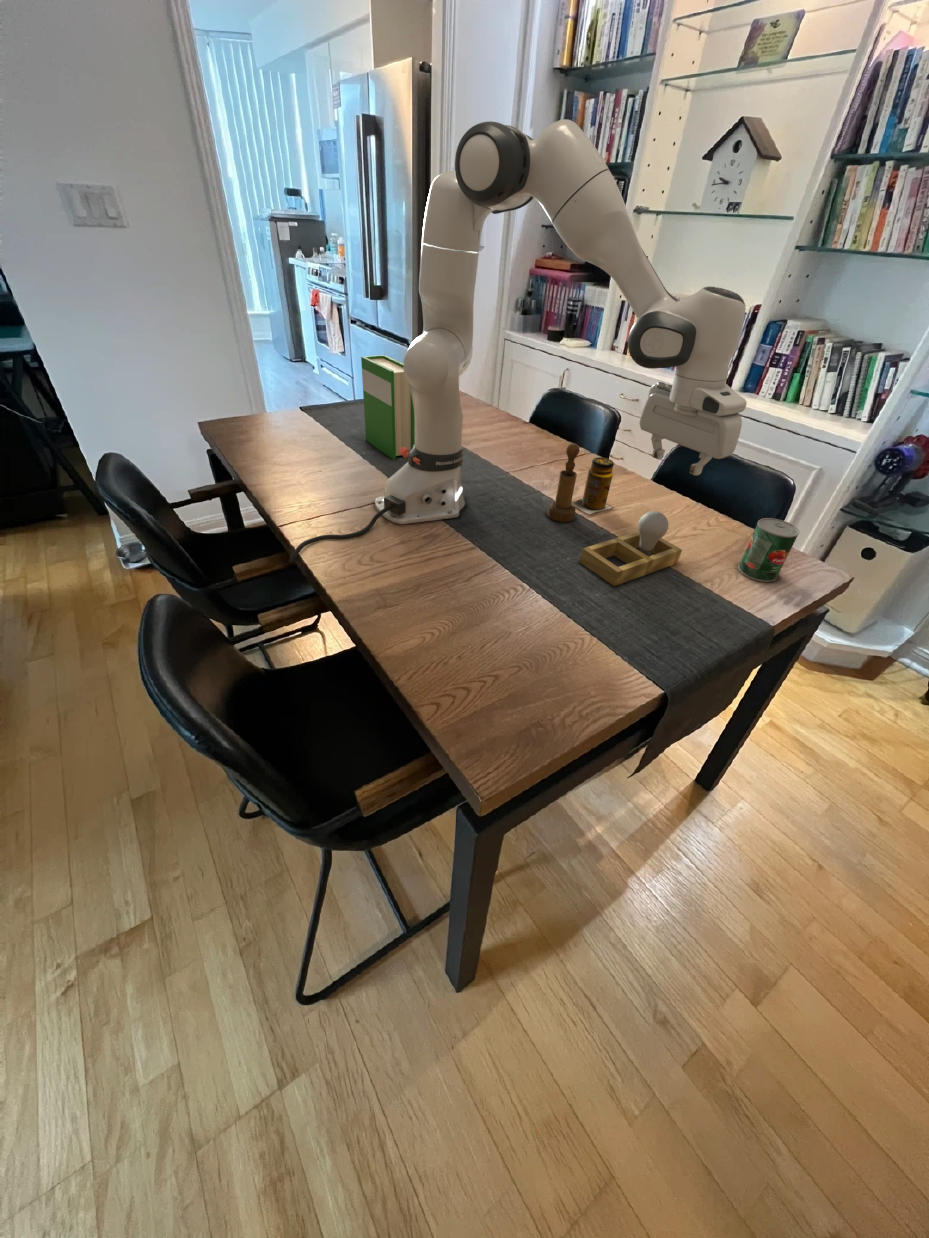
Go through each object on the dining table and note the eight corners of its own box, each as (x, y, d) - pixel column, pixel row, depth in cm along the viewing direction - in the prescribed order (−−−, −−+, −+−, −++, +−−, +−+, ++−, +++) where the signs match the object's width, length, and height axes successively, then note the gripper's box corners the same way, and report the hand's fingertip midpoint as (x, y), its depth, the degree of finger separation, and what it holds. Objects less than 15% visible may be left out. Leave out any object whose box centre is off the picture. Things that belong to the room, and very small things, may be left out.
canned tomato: (774, 586, 110) (797, 540, 104) (735, 574, 113) (755, 528, 107) (778, 570, 116) (801, 525, 109) (741, 558, 119) (760, 514, 112)
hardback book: (415, 455, 157) (414, 368, 142) (393, 459, 153) (390, 371, 139) (387, 437, 168) (384, 354, 153) (366, 440, 165) (361, 356, 150)
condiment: (612, 508, 136) (623, 463, 129) (588, 515, 132) (598, 469, 125) (592, 497, 141) (601, 453, 133) (568, 503, 137) (577, 458, 129)
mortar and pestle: (576, 513, 132) (590, 442, 121) (571, 524, 127) (586, 451, 116) (550, 508, 134) (562, 437, 123) (544, 519, 129) (556, 446, 118)
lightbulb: (627, 561, 115) (640, 515, 108) (631, 548, 120) (643, 503, 113) (655, 568, 114) (670, 522, 107) (658, 554, 118) (673, 510, 111)
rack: (614, 586, 107) (618, 572, 105) (579, 562, 114) (582, 548, 111) (677, 563, 116) (682, 549, 113) (641, 542, 122) (645, 528, 120)
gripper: (641, 381, 102) (626, 451, 110) (732, 409, 88) (707, 487, 97) (663, 378, 105) (647, 447, 113) (755, 404, 91) (728, 480, 99)
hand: (675, 465), depth 105 cm, fingers open, 8 cm apart
